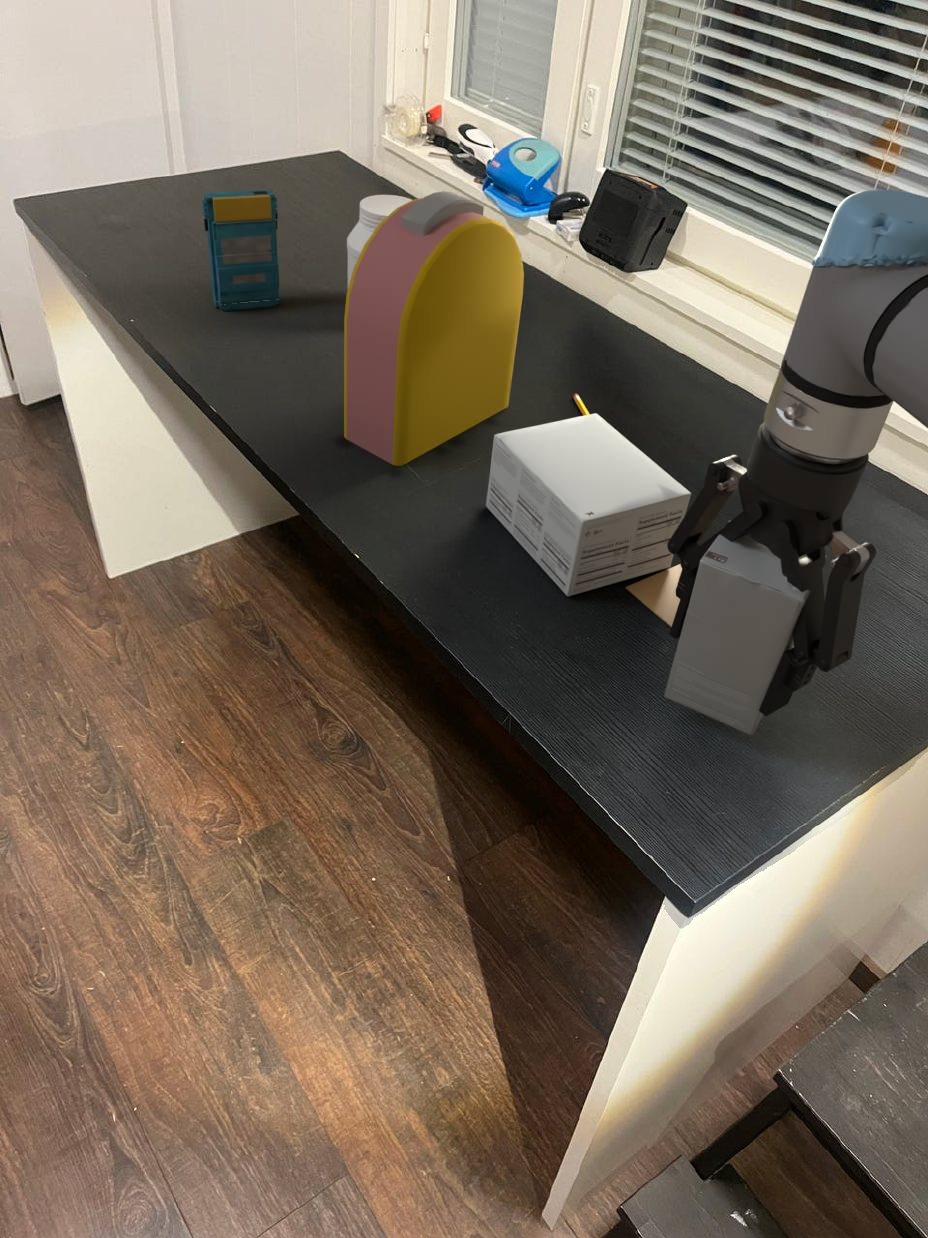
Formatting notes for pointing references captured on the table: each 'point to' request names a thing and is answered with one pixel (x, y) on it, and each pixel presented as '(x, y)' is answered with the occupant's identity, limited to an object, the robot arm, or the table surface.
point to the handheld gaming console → (242, 248)
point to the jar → (370, 223)
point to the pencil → (580, 405)
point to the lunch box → (430, 327)
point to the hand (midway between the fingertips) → (726, 667)
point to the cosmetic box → (734, 632)
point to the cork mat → (659, 593)
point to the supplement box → (584, 502)
